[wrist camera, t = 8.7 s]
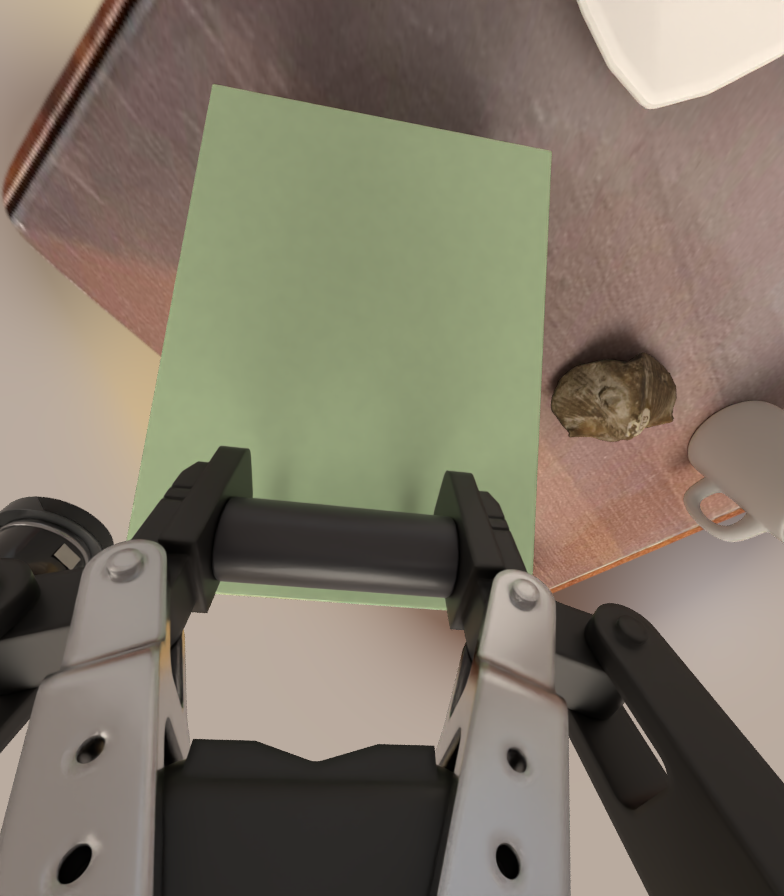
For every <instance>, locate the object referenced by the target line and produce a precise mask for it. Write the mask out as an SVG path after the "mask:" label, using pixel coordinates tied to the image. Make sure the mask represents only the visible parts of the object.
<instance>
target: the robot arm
mask: <svg viewBox="0 0 784 896" xmlns="http://www.w3.org/2000/svg"><path fill="white" fill-rule="evenodd" d="M235 496H240V497H250V498H253V483H252V464H251V452H250V449H248V448H239V447H230V446H220V447H219V448H218V449H217V451H216V452H215V454H214V455H213V457H212V458H211V460H210V461H209V462H201V461H198V462H196V463H195V464H193V465H191V466H190V467H188V468H187V469H185V470H183V471H182V472H181V473H180V475H179V476H178V477H177V479H176V480H175V481H174V483H173V484H172V487H170V488H169V489H168V491H167V492H166V493H165V495H164V498H163V499H161V500H160V501H159V503H158V504H157V505H156V507H155V508H154V509H153V511H152V512H151V513H150V515H149V516H148V517H147V519H146V520H145V521H144V523H143V524H142V525H141V527H140V528H139V529H138V531H137V532H136V533H135V535H134V536H133V537H132V539H131V540H128V541H124V542H121V543H117V544H115V545H112V546H110V547H108V548H106V549H104V550H102V551H101V552H99V553H98V554H97V555H95V556H94V557H93V558H92V555H91V552H90V550H89V548H88V546H87V545H86V544H85V542H84V541H83V540H82V539H81V538H80V537H78V536H77V535H76V534H74V533H73V532H71V531H70V530H68V529H66V528H64V527H62V526H60V525H57V524H55V523H52V522H49V521H45V520H40V519H33V518H21V519H15V520H12V521H9V522H8V523H6V524H5V525H0V753H1V752H2V751H3V749H4V748H5V747H6V746H7V744H8V743H9V742H10V741H11V740H12V739H13V738H14V736H15V735H16V734H17V733H18V732H19V730H21V728H22V727H23V726H24V725H25V724H26V723H27V721H28V720H29V719H30V721H29V725H28V729H27V733H26V736H25V740H24V745H23V749H22V752H21V756H20V760H19V763H18V767H17V772H16V775H15V779H14V783H13V787H12V791H11V794H10V798H9V802H8V806H7V810H6V814H5V817H4V821H3V826H2V829H1V833H0V896H570V895H571V894H570V820H569V818H570V814H569V740H568V739H569V738H570V740H571V742H572V744H573V745H574V747H575V749H576V751H577V753H578V755H579V757H580V759H581V761H582V763H583V765H584V767H585V769H586V771H587V773H588V775H589V777H590V779H591V781H592V783H593V785H594V787H595V789H596V791H597V793H598V795H599V797H600V799H601V801H602V803H603V805H604V807H605V809H606V811H607V813H608V815H609V817H610V819H611V821H612V823H613V825H614V827H615V829H616V831H617V833H618V835H619V837H620V839H621V841H622V843H623V845H624V847H625V849H626V851H627V853H628V855H629V857H630V859H631V861H632V863H633V865H634V867H635V869H636V871H637V873H638V875H639V876H640V879H641V880H642V882H643V884H644V887H645V888H646V890H647V892H648V894H649V896H784V783H783V782H782V781H781V779H780V778H779V777H778V776H777V775H776V773H775V772H774V771H773V770H772V768H771V767H770V766H769V765H768V764H767V762H766V761H765V760H764V759H763V758H762V756H761V755H760V754H759V753H758V752H757V750H755V748H754V747H753V746H752V744H751V743H750V742H749V741H748V740H747V738H746V737H745V736H744V735H743V734H742V732H741V731H740V730H739V729H738V727H737V726H736V725H735V724H734V723H733V721H732V720H731V719H730V718H729V717H728V715H727V714H726V713H725V712H724V711H723V709H722V708H721V707H720V706H719V705H718V704H717V702H716V701H715V700H714V699H713V697H712V696H711V695H710V694H709V692H708V691H707V690H706V689H705V688H704V686H703V685H702V684H701V683H700V682H699V680H698V679H697V678H696V677H695V676H694V674H693V673H692V672H691V671H690V670H689V669H688V667H687V666H686V665H685V664H684V662H683V661H682V660H681V659H680V657H679V656H678V655H677V654H676V653H675V652H674V650H673V649H672V648H671V647H670V645H669V644H668V643H667V642H666V641H665V639H664V638H663V637H662V636H661V635H660V633H659V632H658V631H657V630H656V629H655V627H653V625H652V624H651V623H650V622H649V621H648V620H646V619H645V618H644V617H643V616H641V615H640V614H638V613H637V612H635V611H633V610H632V609H630V608H628V607H625V606H623V605H619V604H614V603H607V604H603V605H601V606H599V607H598V608H597V610H596V611H595V613H594V614H593V615H592V614H590V613H587V612H584V611H581V610H578V609H575V608H572V607H570V606H567V605H564V604H562V603H559V602H557V601H555V599H554V597H553V595H552V593H551V591H550V590H549V589H548V587H547V586H546V585H545V584H544V583H543V582H542V581H540V580H539V579H538V578H536V577H535V576H533V575H531V574H529V573H528V572H527V570H526V567H525V565H524V562H523V560H522V558H521V555H520V553H519V550H518V548H517V545H516V543H515V541H514V538H513V536H512V533H511V531H509V526H508V524H507V521H506V520H505V516H504V514H503V512H502V509H501V507H500V504H499V503H498V502H497V501H496V500H495V499H494V498H493V497H492V496H491V494H490V493H489V492H487V491H479V490H478V487H477V484H476V481H475V479H474V476H473V474H472V473H467V472H457V471H448V470H447V471H446V472H445V474H444V477H443V480H442V484H441V488H440V491H439V495H438V498H437V502H436V506H435V509H434V515H439V516H449V517H451V518H452V519H453V520H454V522H455V524H456V527H457V532H458V538H459V568H458V575H457V580H456V584H455V587H454V590H453V592H452V594H451V595H450V596H449V597H447V598H445V602H446V608H447V613H448V619H449V625H450V629H456V630H464V633H465V637H466V643H465V646H464V648H463V651H462V655H461V659H460V663H459V667H458V671H457V675H456V679H455V684H454V688H453V691H452V696H451V700H450V704H449V708H448V712H447V716H446V720H445V724H444V727H443V731H442V734H441V737H440V740H439V742H438V745H437V748H436V752H435V750H434V749H435V748H434V746H424V745H421V746H420V745H388V744H387V745H386V744H377V745H374V746H370V747H367V748H364V749H360V750H357V751H353V752H350V753H347V754H343V755H340V756H336V757H333V758H329V759H326V760H323V761H310V760H307V759H304V758H301V757H299V756H296V755H293V754H290V753H288V752H285V751H282V750H279V749H277V748H274V747H271V746H268V745H265V744H263V743H260V742H257V741H244V740H208V739H207V740H206V739H193V741H192V744H191V747H190V738H189V730H188V722H187V700H186V666H185V665H186V664H185V634H184V627H185V625H186V623H187V620H188V618H189V616H190V614H191V612H197V613H207V612H208V610H209V607H210V605H211V603H212V600H213V598H214V595H215V593H216V591H217V588H218V586H219V584H220V581H219V580H217V579H216V578H215V577H214V574H213V569H212V550H213V542H214V536H215V532H216V528H217V524H218V521H219V518H220V515H221V513H222V511H223V509H224V507H225V505H226V503H227V502H228V501H229V499H230V498H232V497H235ZM624 703H626V705H627V706H628V708H629V709H630V711H631V712H632V714H633V715H634V717H635V718H636V720H637V722H638V723H639V725H640V726H641V728H642V729H643V731H644V732H645V734H646V735H647V737H648V738H649V740H650V742H651V743H652V745H653V746H654V748H655V749H656V751H657V752H658V754H659V756H660V757H661V759H662V761H663V763H664V765H665V768H666V772H667V774H666V772H665V771H664V770H663V768H662V766H661V765H660V763H659V762H658V760H657V759H656V757H655V755H654V754H653V752H652V751H651V749H650V748H649V746H648V745H647V743H646V741H645V740H644V738H643V737H642V735H641V733H640V732H639V730H638V729H637V727H636V726H635V724H634V722H633V721H632V719H631V718H630V716H629V715H628V713H627V712H626V710H625V708H624V707H623V704H624Z"/></svg>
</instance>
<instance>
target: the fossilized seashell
mask: <svg viewBox="0 0 784 896" xmlns="http://www.w3.org/2000/svg"><path fill="white" fill-rule="evenodd" d="M676 398H677V397H676V385H675V384H674V381H673V379H672V377H671V375H670V373H669V372H668V371H667V370H666V369H665V368H664V366H662V365H661V364H660V363H659V362H658V361H657V360H656V359H655V358H653V357H652V356H650V355H649V354H647V353H644V352H642V353H639V354H638V355H637V356H636V357H634V358H632V359H631V360H630V361H629V362H624V361H618V360H613V359H607V360H601V361H594V362H591V363H587V364H582V365H578V366H575V367H574V368H573V369H571V370H570V371H568V372H567V373H566V374H565V375H564V376H563V377H562V378H561V379H560V380H559V381H558V385H557V387H556V389H555V390H554V393H553V395H552V401H551V410H552V412H553V413H554V414H555V416H556V417H557V419H558V420H559V421H560V423H561V424H562V426H563V427H564V428H565V429H566V430H567V431H568V432H569V437H593V438H597V439H599V440H604V441H609V442H617V441H619V440H630V439H632V438H633V437H635V436H637V435H639V434H640V433H641V432H642V431H643V429H644V428H648V427H652V426H657V425H661V424H665V423H670V422H672V421H673V419H674V418H673V416H672V413H673V407H674V404H675V401H676Z"/></svg>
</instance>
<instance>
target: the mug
mask: <svg viewBox="0 0 784 896" xmlns="http://www.w3.org/2000/svg"><path fill="white" fill-rule="evenodd" d="M688 458H689V461H690V462H691V464H692V466H693V467H694V468H695V469H696V470H697V471H699V472H700V473H701V474H702V475H703V476H705V477H704V478H703V479H701V480H700V481H698V482H697V483H695V484H694V485H693V486H691V487H690V488H689V489H688V490H687V491H686V493H685V494H684V498H683V501H684V505H685V507H686V509H687V511H688V512H689V514H690V515H691V517H692V518H693V519H694V520H695V521H696V522H697V523H698V524H699V525H700V526H701V527H702V528H703V529H704V530H706V531H707V532H708V533H710V534H711V535H713V536H715V537H716V538H718V539H721V540H724V541H728V542H738V541H743V540H746V539H749V538H752V537H755V536H757V535H760V534H762V533H765V532H768V533H770V534H772V535H773V536H775V537H776V538H777V539H778V540H780V541H781V542H783V543H784V410H783V409H781V408H779V407H777V406H775V405H773V404H771V403H768V402H764V401H745V402H740V403H737V404H734V405H731V406H728V407H726V408H724V409H722V410H720V411H719V412H717V413H715V414H714V415H712V416H711V417H710V418H708V419H707V420H706V421H705V422H704V423H703V424H702V425H701V426H700V427H699V428H698V429H697V430H696V432H695V433H694V435H693V436H692V438H691V440H690V443H689V446H688ZM715 493H723V494H725V495H726V496H728V497H729V498H730V499H732V500H733V501H734V502H735V503H736V504H738V505H739V506H740V507H741V508H742V509H743V510H744V511H745V512H747V513H746V515H745V516H744V517H743V518H742V519H741V520H740V521H738V522H737V523H734V524H732V525H729V526H721V525H718V524H716V523H714V522H712V521H711V520H709V519H708V518H707V517H706V516H705V515H704V514H703V513H702V511H701V509H700V502H701V501H702V500H703V499H704V498H706V497H708V496H710V495H712V494H715Z"/></svg>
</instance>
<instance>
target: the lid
mask: <svg viewBox="0 0 784 896" xmlns="http://www.w3.org/2000/svg"><path fill="white" fill-rule="evenodd" d="M551 157H552V152H551V151H548V150H543V149H538V148H533V147H528V146H523V145H518V144H513V143H508V142H503V141H498V140H493V139H488V138H483V137H478V136H473V135H468V134H463V133H458V132H453V131H448V130H443V129H438V128H433V127H428V126H423V125H418V124H413V123H407V122H402V121H397V120H392V119H387V118H382V117H377V116H372V115H367V114H362V113H357V112H352V111H347V110H342V109H337V108H332V107H327V106H322V105H317V104H312V103H307V102H302V101H297V100H292V99H287V98H282V97H277V96H272V95H267V94H262V93H256V92H251V91H246V90H241V89H236V88H231V87H226V86H221V85H216V84H213V85H212V90H211V95H210V101H209V106H208V111H207V117H206V122H205V127H204V132H203V138H202V143H201V148H200V154H199V159H198V164H197V170H196V175H195V180H194V185H193V191H192V196H191V201H190V207H189V212H188V217H187V222H186V228H185V233H184V238H183V244H182V249H181V254H180V260H179V265H178V270H177V275H176V281H175V286H174V291H173V297H172V302H171V307H170V313H169V318H168V323H167V328H166V334H165V339H164V344H163V350H162V355H161V360H160V365H159V371H158V376H157V382H156V387H155V392H154V398H153V403H152V408H151V413H150V419H149V424H148V429H147V434H146V440H145V445H144V451H143V455H142V461H141V466H140V472H139V477H138V482H137V487H136V493H135V498H134V503H133V508H132V514H131V519H130V525H129V530H128V535H127V540H126V541H128V540H131V539H132V537H133V536H134V535H135V533H136V532H137V531H138V529H139V528H140V527H141V525H142V524H143V523H144V521H145V520H146V519H147V517H148V516H149V515H150V513H151V512H152V511H153V509H154V508H155V507H156V505H157V504H158V503H159V501H160V500H161V499H163V498H164V495H165V493H166V492H167V491H168V489H169V488H170V487H172V484H173V483H174V481H175V480H176V479H177V477H178V476H179V475H180V473H181V472H182V471H183V470H185V469H187V468H188V467H190V466H191V465H193V464H195V463H196V462H198V461H201V462H209V461H210V460H211V458H212V457H213V455H214V454H215V452H216V451H217V449H218V448H219V447H220V446H230V447H239V448H248V449H250V452H251V464H252V483H253V498H250V497H240V496H235V497H232V498H230V499H229V501H228V502H227V503H226V505H225V507H224V509H223V511H222V513H221V515H220V518H219V521H218V524H217V528H216V532H215V536H214V542H213V550H212V569H213V574H214V577H215V578H216V579H217V580H219V581H220V584H219V586H218V588H217V591H216V593H215V594H224V595H238V596H253V597H266V598H280V599H295V600H309V601H323V602H337V603H351V604H365V605H380V606H394V607H408V608H423V609H436V610H447V608H446V602H445V598H447V597H449V596H450V595H451V594H452V592H453V590H454V587H455V584H456V580H457V575H458V568H459V538H458V532H457V527H456V524H455V522H454V520H453V519H452V518H451V517H449V516H439V515H434V509H435V506H436V502H437V498H438V495H439V491H440V488H441V484H442V480H443V477H444V474H445V472H446V471H447V470H448V471H457V472H467V473H472V474H473V476H474V479H475V481H476V484H477V487H478V490H479V491H487V492H489V493H490V494H491V496H492V497H493V498H494V499H495V500H496V501H497V502H498V503H499V504H500V507H501V509H502V512H503V514H504V516H505V520H506V521H507V524H508V526H509V531H511V533H512V536H513V538H514V541H515V543H516V545H517V548H518V550H519V553H520V555H521V558H522V560H523V562H524V565H525V567H526V570H527V572H528V573H529V574H531V575H533V557H534V534H535V512H536V490H537V468H538V446H539V423H540V401H541V379H542V357H543V335H544V312H545V290H546V268H547V246H548V224H549V201H550V179H551Z"/></svg>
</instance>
